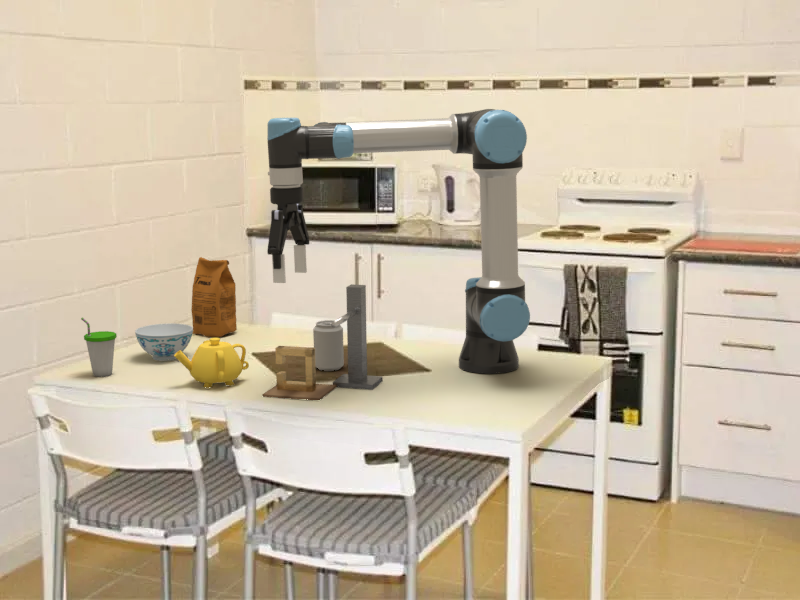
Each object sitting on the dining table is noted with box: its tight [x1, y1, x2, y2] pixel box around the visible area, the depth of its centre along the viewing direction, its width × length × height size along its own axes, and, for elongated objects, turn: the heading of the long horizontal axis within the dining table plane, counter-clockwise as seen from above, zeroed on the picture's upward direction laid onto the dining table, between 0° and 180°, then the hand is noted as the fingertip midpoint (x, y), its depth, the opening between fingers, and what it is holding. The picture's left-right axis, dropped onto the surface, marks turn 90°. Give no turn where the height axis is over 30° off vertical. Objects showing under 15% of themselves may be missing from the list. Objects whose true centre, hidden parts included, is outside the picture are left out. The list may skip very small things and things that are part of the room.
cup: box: [80, 317, 117, 378], centre depth 288 cm, size 8×8×15 cm
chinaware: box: [134, 322, 193, 362], centre depth 306 cm, size 15×15×8 cm
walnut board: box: [261, 383, 338, 401], centre depth 272 cm, size 14×12×1 cm
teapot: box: [174, 337, 250, 389], centre depth 280 cm, size 14×14×11 cm
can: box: [312, 319, 345, 372], centre depth 293 cm, size 8×8×12 cm
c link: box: [274, 345, 317, 392], centre depth 271 cm, size 9×2×10 cm, turn 74°
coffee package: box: [190, 256, 238, 338], centre depth 333 cm, size 10×12×22 cm
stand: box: [331, 283, 384, 391], centre depth 270 cm, size 10×20×24 cm, turn 164°
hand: (290, 277), depth 269 cm, fingers open, 13 cm apart
